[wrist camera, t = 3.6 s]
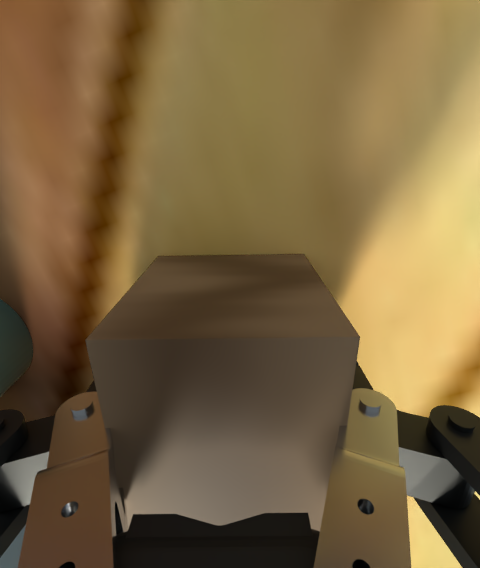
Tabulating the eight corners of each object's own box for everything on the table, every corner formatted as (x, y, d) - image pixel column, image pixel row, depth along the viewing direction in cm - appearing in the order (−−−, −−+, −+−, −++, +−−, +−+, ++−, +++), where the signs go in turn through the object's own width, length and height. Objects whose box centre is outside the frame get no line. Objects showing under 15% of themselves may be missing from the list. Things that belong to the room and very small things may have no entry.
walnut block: (303, 254, 12) (359, 336, 6) (295, 401, 14) (329, 554, 9) (158, 255, 12) (85, 339, 6) (174, 403, 14) (133, 555, 9)
